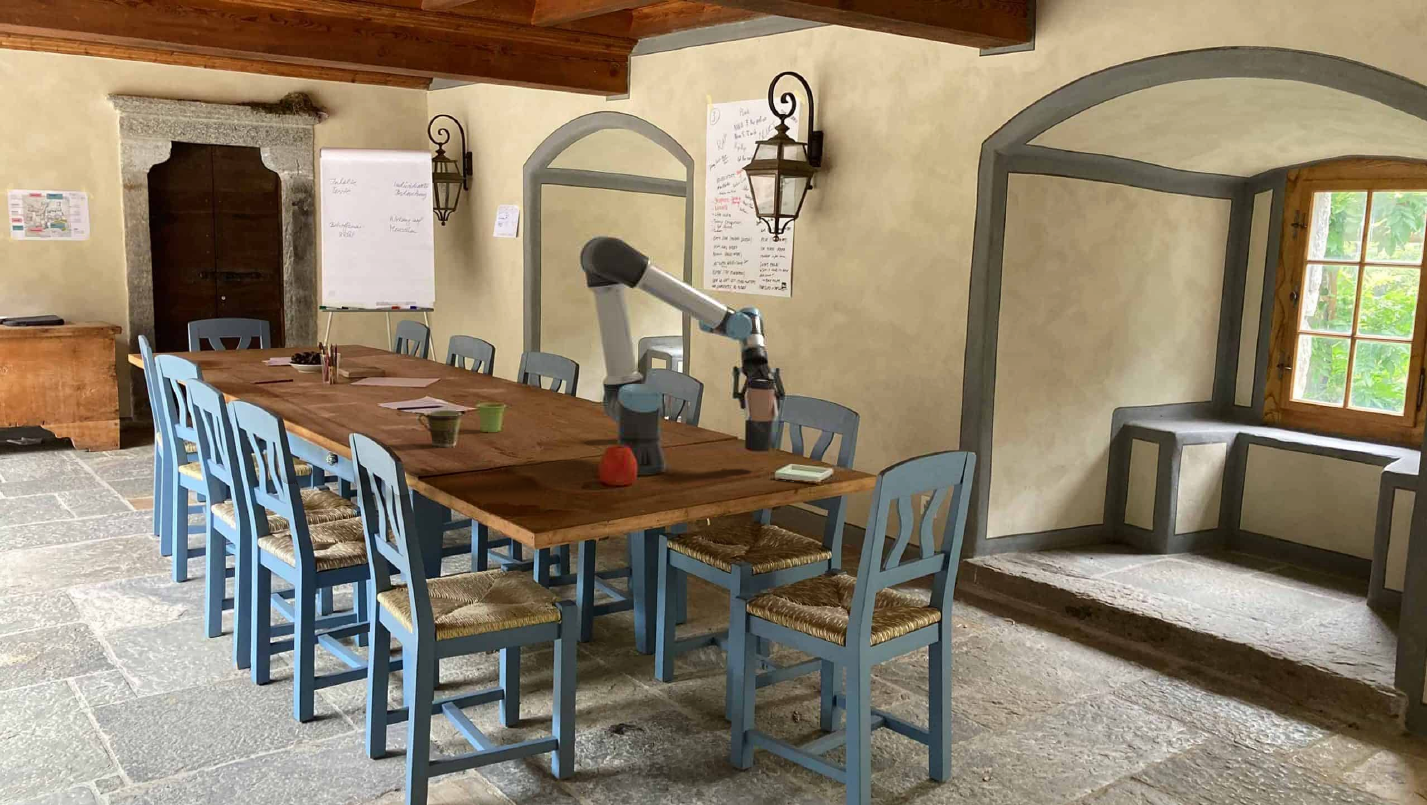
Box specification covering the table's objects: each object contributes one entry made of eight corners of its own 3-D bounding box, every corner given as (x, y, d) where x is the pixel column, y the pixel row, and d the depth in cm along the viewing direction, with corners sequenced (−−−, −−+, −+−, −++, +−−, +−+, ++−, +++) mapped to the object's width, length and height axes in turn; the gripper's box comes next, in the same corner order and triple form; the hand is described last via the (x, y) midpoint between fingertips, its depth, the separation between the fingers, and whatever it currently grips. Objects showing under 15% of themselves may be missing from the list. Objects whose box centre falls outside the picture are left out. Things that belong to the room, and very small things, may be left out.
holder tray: (818, 484, 297) (818, 477, 297) (774, 479, 302) (775, 471, 302) (832, 475, 308) (833, 468, 308) (790, 470, 313) (790, 463, 313)
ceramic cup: (465, 443, 340) (465, 411, 338) (455, 449, 330) (454, 416, 328) (424, 441, 341) (424, 409, 339) (413, 447, 331) (412, 414, 330)
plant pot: (473, 429, 363) (473, 403, 362) (501, 428, 367) (501, 402, 366) (480, 434, 355) (480, 407, 354) (509, 433, 359) (509, 406, 358)
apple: (617, 477, 299) (618, 439, 297) (645, 483, 293) (646, 444, 291) (590, 483, 291) (591, 444, 290) (618, 489, 285) (619, 449, 283)
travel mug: (775, 449, 314) (779, 379, 311) (763, 452, 308) (767, 381, 305) (752, 445, 318) (755, 376, 315) (739, 449, 312) (742, 378, 309)
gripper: (785, 362, 326) (794, 426, 313) (717, 360, 323) (723, 424, 309) (790, 346, 320) (800, 410, 307) (721, 344, 317) (728, 408, 303)
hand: (761, 417), depth 308 cm, fingers closed on travel mug, 7 cm apart
